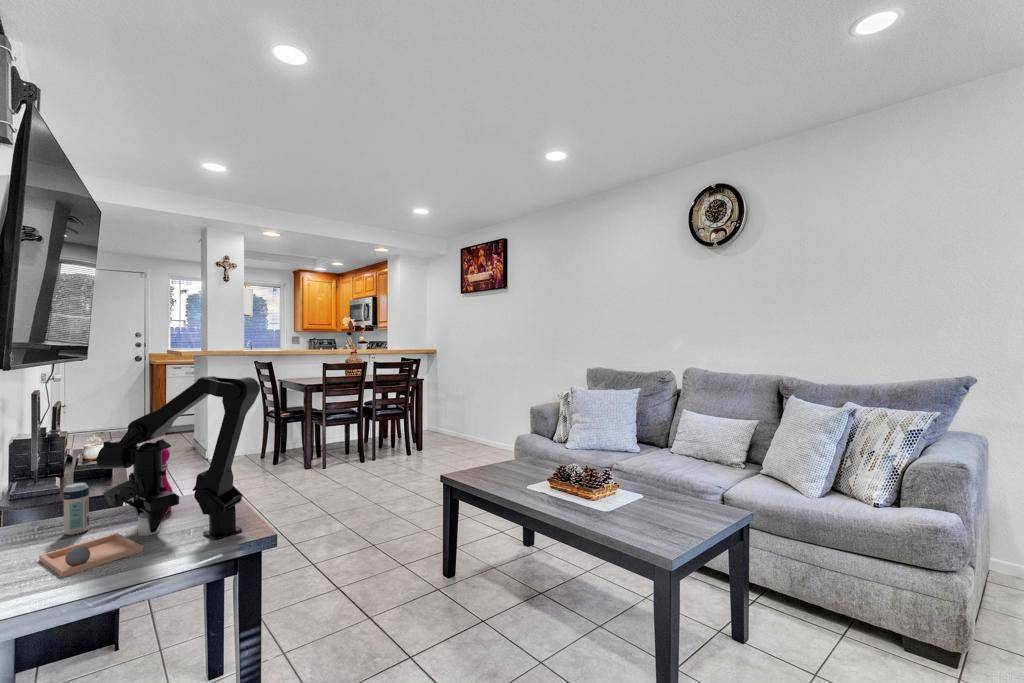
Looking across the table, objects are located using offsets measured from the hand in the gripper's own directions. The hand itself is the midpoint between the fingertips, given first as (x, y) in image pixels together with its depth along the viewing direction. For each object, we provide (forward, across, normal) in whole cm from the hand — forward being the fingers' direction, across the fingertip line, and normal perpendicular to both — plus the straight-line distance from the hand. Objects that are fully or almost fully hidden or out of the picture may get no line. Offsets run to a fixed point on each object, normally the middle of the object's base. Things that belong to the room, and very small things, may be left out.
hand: (149, 530), depth 122 cm
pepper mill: (+1, -15, +8) cm, 17 cm away
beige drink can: (+1, -17, -9) cm, 19 cm away
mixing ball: (0, +8, -16) cm, 18 cm away
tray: (+1, +4, -12) cm, 13 cm away
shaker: (+1, 0, 0) cm, 1 cm away
